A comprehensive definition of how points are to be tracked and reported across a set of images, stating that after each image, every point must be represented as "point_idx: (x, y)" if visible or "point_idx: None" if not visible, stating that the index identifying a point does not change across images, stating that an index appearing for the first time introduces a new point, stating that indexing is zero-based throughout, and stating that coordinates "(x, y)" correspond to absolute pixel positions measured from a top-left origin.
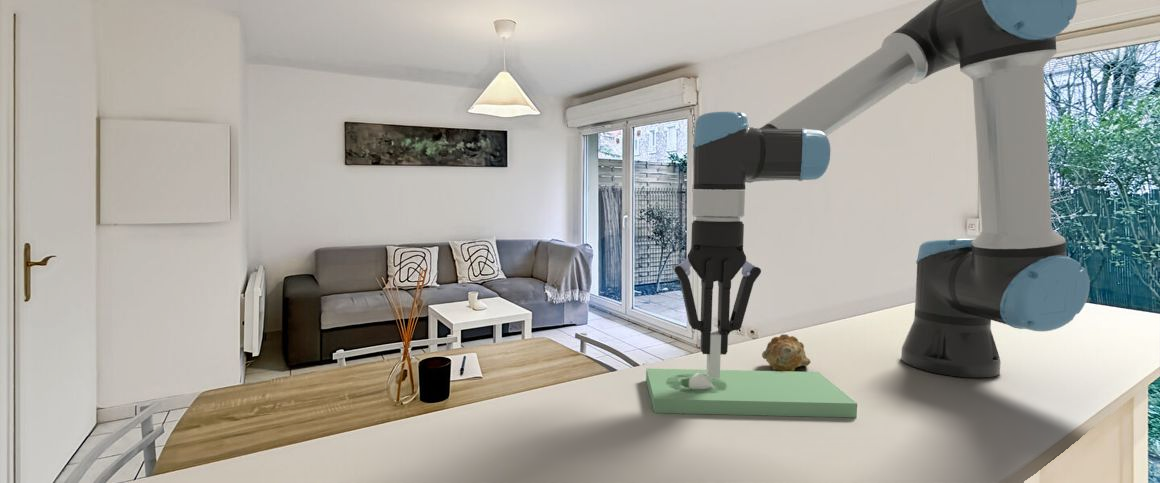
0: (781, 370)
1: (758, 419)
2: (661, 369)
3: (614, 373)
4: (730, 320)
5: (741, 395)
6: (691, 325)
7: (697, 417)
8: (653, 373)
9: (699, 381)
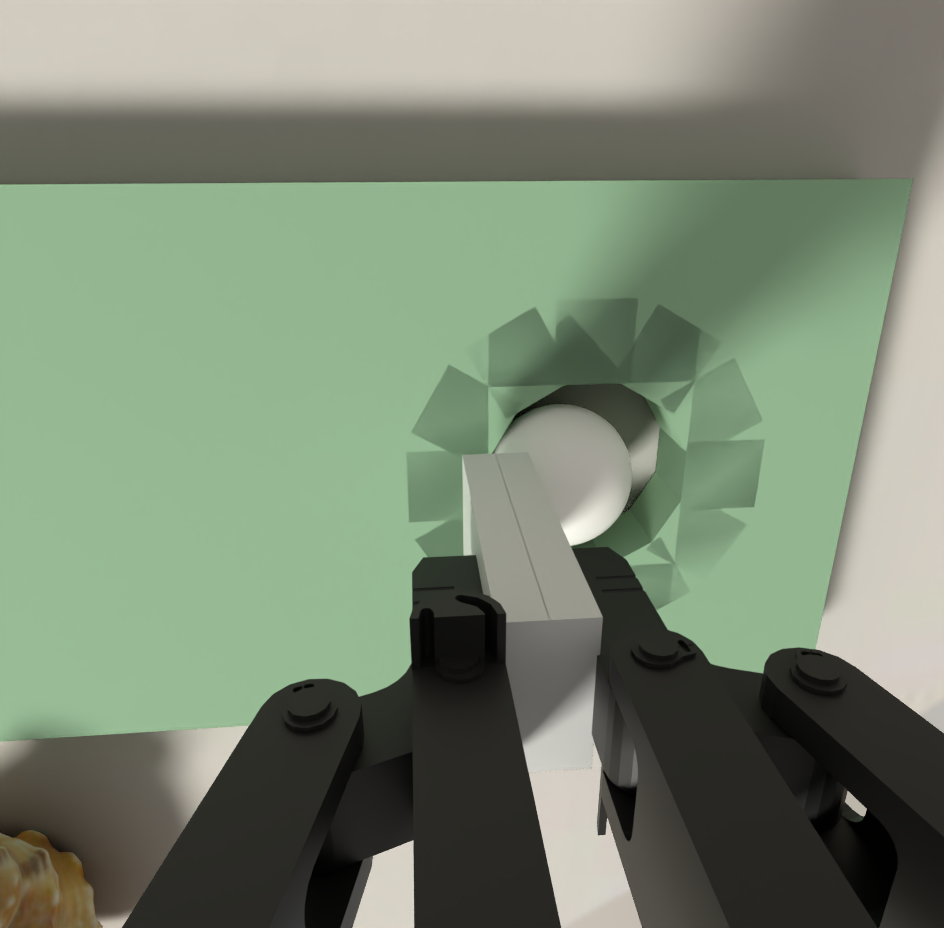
0: (37, 841)
1: (275, 116)
2: None
3: None
4: (366, 856)
5: (346, 288)
6: (858, 676)
7: (632, 126)
8: (790, 616)
9: (588, 437)
